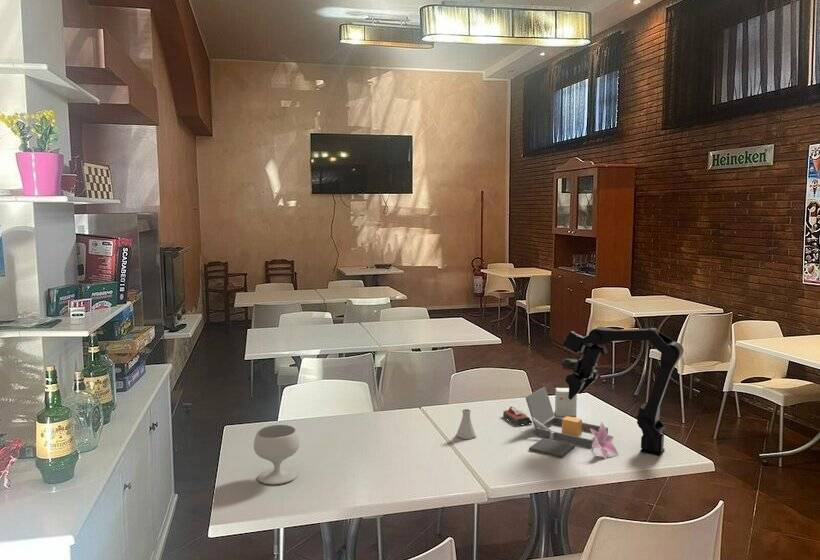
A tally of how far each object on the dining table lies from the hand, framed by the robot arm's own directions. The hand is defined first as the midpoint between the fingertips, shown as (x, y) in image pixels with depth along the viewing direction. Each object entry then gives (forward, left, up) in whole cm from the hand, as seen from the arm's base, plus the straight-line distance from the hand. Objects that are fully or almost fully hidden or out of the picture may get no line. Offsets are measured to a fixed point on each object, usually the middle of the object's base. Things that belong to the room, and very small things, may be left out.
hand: (574, 396), depth 225 cm
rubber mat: (+1, +18, -15) cm, 23 cm away
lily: (-15, +13, -15) cm, 25 cm away
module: (+1, 0, -15) cm, 15 cm away
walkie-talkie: (+27, -5, -15) cm, 31 cm away
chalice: (+61, +91, -15) cm, 111 cm away
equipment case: (+3, +1, -15) cm, 15 cm away
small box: (+12, -21, -15) cm, 28 cm away
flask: (+32, +25, -15) cm, 43 cm away
